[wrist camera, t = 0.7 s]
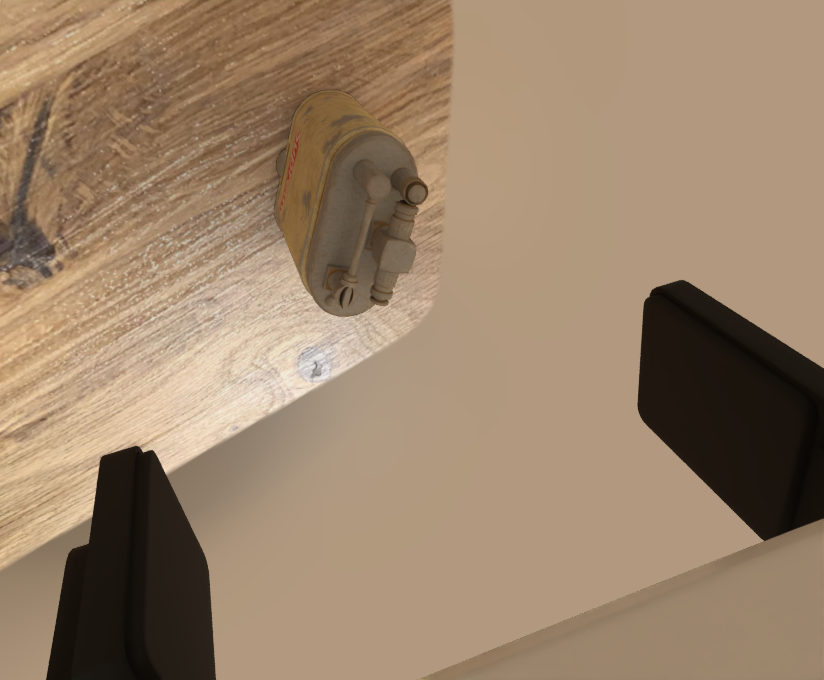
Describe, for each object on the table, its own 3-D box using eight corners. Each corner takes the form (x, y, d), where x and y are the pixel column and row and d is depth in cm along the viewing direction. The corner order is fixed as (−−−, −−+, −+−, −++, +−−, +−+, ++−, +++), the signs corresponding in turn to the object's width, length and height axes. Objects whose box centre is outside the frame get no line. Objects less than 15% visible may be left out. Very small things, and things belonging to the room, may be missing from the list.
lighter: (338, 248, 32) (396, 351, 24) (260, 235, 30) (293, 340, 22) (376, 100, 29) (457, 160, 21) (292, 77, 27) (344, 131, 19)
